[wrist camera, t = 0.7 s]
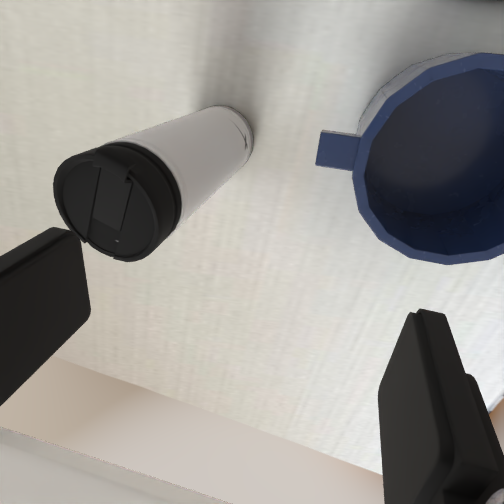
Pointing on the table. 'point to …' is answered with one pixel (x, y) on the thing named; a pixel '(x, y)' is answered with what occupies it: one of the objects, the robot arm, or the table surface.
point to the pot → (431, 159)
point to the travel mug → (150, 180)
